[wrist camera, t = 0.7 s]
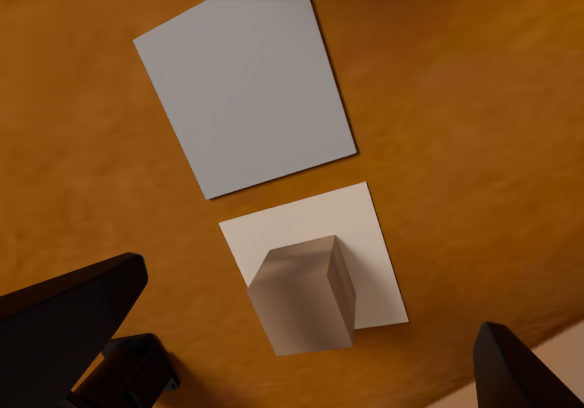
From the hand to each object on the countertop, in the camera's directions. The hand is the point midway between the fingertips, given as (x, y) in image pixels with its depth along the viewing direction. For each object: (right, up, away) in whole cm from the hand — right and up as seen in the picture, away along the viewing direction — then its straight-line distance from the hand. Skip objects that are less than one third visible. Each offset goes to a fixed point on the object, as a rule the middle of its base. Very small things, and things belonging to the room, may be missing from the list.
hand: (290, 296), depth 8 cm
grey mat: (-3, +9, +12) cm, 15 cm away
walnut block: (+2, -3, +15) cm, 16 cm away
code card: (+2, -3, +15) cm, 16 cm away
